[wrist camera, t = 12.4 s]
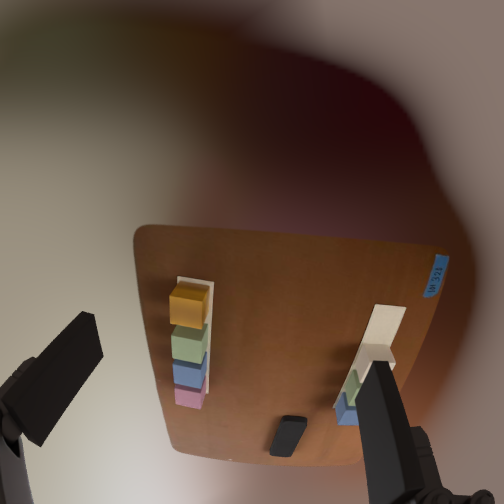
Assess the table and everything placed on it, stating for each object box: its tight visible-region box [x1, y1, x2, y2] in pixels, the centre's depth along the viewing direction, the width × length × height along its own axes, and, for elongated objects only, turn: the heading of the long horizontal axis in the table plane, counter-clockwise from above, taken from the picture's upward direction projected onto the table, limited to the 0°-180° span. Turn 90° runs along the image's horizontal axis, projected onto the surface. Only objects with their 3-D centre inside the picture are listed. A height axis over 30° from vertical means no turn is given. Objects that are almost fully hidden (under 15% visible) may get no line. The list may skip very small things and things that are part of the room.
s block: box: [169, 281, 210, 329], centre depth 39 cm, size 4×4×4 cm
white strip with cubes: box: [333, 304, 406, 425], centre depth 41 cm, size 23×5×4 cm, turn 173°
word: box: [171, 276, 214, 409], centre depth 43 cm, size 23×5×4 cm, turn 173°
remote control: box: [270, 416, 307, 457], centre depth 52 cm, size 5×2×15 cm
